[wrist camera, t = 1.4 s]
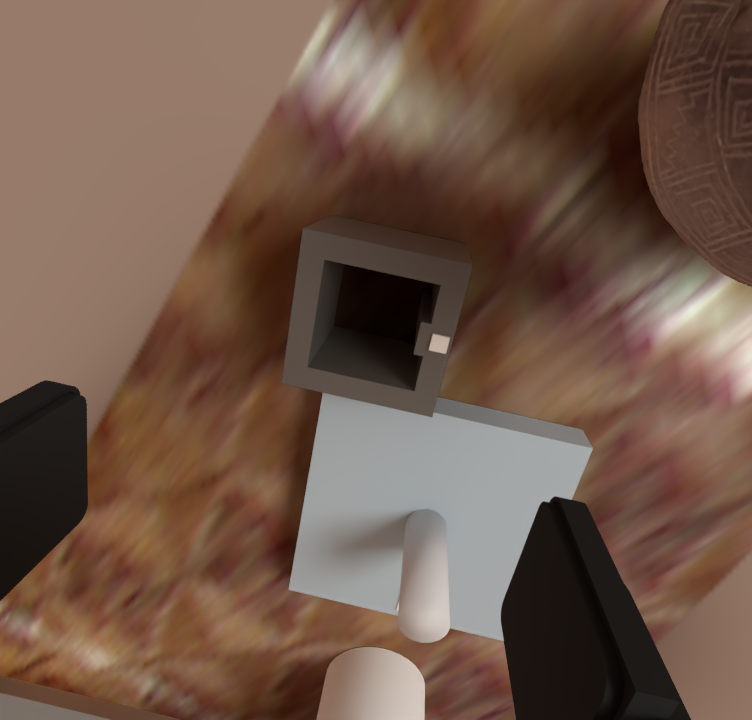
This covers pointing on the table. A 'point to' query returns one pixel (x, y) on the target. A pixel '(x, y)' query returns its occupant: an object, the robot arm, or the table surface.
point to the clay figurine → (702, 128)
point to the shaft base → (427, 509)
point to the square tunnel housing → (362, 350)
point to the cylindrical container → (372, 687)
